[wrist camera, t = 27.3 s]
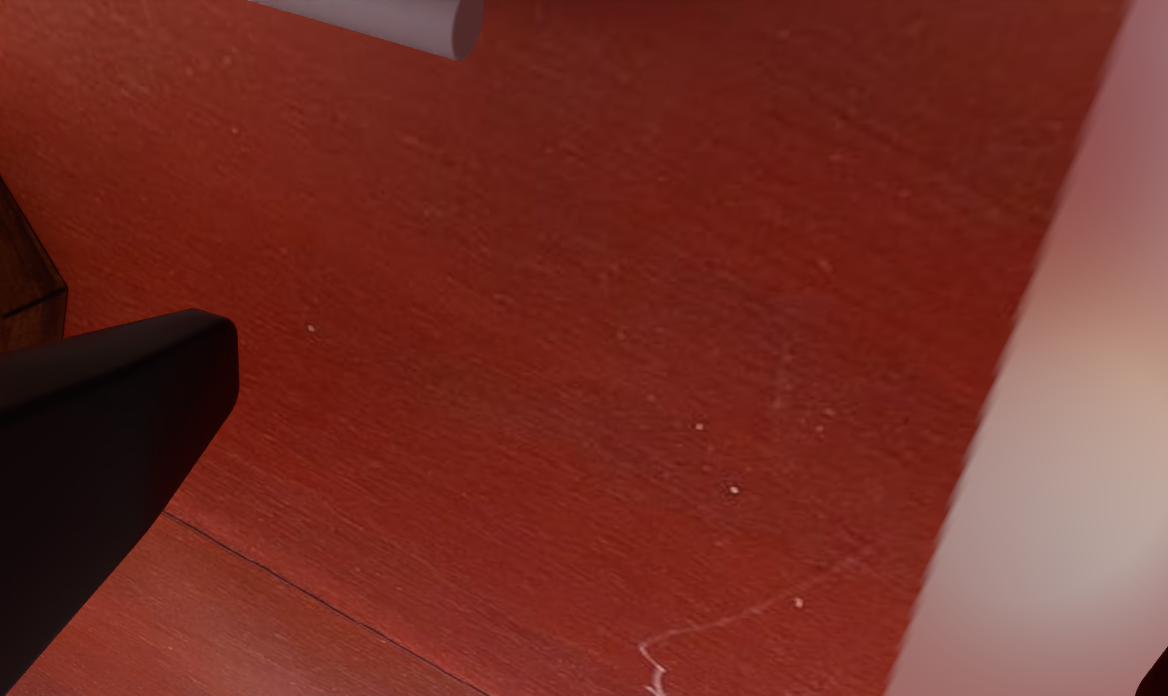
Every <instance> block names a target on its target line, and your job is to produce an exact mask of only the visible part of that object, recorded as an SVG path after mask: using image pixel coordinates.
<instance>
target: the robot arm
mask: <svg viewBox="0 0 1168 696" xmlns="http://www.w3.org/2000/svg"><path fill="white" fill-rule="evenodd" d="M238 394H239V357H238V335H237V329H236V327H235V324H234V323H233V322H232V321H231V320H230V319H228V318H226V317H223V316H220V315H217V314H213V313H210V312H207V311H204V310H200V309H187V310H182V311H178V312H174V313H169V314H165V315H161V316H156V317H152V318H148V319H144V320H139V321H135V322H131V323H126V324H122V325H118V326H113V327H109V328H105V329H101V330H96V331H92V332H88V333H83V334H79V335H75V336H71V337H66V338H62V339H58V340H53V341H49V342H45V343H40V344H36V345H32V346H28V347H23V348H19V349H15V350H10V351H6V352H2V353H0V696H5V695H6V694H7V693H8V692H9V690H10V689H11V688H12V687H13V686H14V685H15V684H16V682H17V681H18V680H19V679H20V678H21V677H22V675H23V674H24V673H25V672H26V671H27V670H28V669H29V667H30V666H31V665H32V664H33V663H34V662H35V660H36V659H37V658H38V657H39V656H40V655H41V654H42V652H43V651H44V650H45V649H46V648H47V647H48V646H49V644H50V643H51V642H52V641H53V640H54V639H55V637H56V636H57V635H58V634H59V633H60V632H61V631H62V629H63V628H64V627H65V626H66V625H67V624H68V622H69V621H70V620H71V619H72V618H73V617H74V616H75V614H76V613H77V612H78V611H79V610H80V609H81V607H82V606H83V605H84V604H85V603H86V602H87V601H88V599H89V598H90V597H91V596H92V595H93V594H94V592H95V591H96V590H97V589H98V588H99V587H100V586H101V584H102V583H103V582H104V581H105V580H106V579H107V578H108V576H109V575H110V574H111V573H112V572H113V571H114V569H115V568H116V567H117V566H118V565H119V564H120V563H121V561H122V560H123V559H124V558H125V557H126V556H127V554H128V553H129V552H130V551H131V550H132V549H133V548H134V546H135V545H136V544H137V543H138V542H139V540H140V539H141V538H142V537H143V536H144V534H145V533H146V532H147V531H148V529H149V528H150V527H151V526H152V524H153V523H154V522H155V520H156V519H157V518H158V516H159V515H160V514H161V512H162V511H163V510H164V508H165V507H166V505H167V504H168V502H169V501H170V500H171V498H172V497H173V495H174V494H175V492H176V491H177V489H178V488H179V487H180V485H181V484H182V482H183V481H184V479H185V478H186V477H187V475H188V474H189V472H190V471H191V469H192V468H193V466H194V465H195V464H196V462H197V461H198V459H199V458H200V456H201V455H202V453H203V452H204V451H205V449H206V448H207V446H208V445H209V443H210V442H211V441H212V439H213V438H214V436H215V435H216V433H217V432H218V430H219V429H220V428H221V426H222V425H223V423H224V422H225V420H226V419H227V417H228V416H229V415H230V413H231V411H232V410H233V408H234V406H235V404H236V401H237V398H238ZM1135 696H1168V647H1167V648H1166V650H1165V651H1164V652H1163V653H1162V655H1161V656H1160V657H1159V659H1158V660H1157V661H1156V663H1155V664H1154V665H1153V667H1152V668H1151V669H1150V670H1149V672H1148V673H1147V674H1146V676H1145V677H1144V678H1143V680H1142V681H1141V683H1140V684H1139V687H1138V689H1137V691H1136V694H1135Z"/></svg>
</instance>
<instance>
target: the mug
mask: <svg viewBox="0 0 1168 696" xmlns="http://www.w3.org/2000/svg"><path fill="white" fill-rule="evenodd" d="M66 296H67V287H66V286H65V284H64V282H63V281H62V279H61V277H60V276H59V274H58V272H57V271H56V269H55V267H54V266H53V264H52V263H51V261H50V259H49V258H48V256H47V254H46V253H45V251H44V249H43V248H42V246H41V244H40V243H39V241H38V239H37V238H36V236H35V235H34V233H33V231H32V230H31V228H30V226H29V225H28V223H27V221H26V220H25V218H24V216H23V215H22V213H21V211H20V210H19V208H18V206H17V205H16V203H15V202H14V200H13V198H12V197H11V195H10V193H9V192H8V190H7V188H6V187H5V185H4V183H3V182H2V180H1V178H0V353H2V352H6V351H10V350H15V349H19V348H23V347H28V346H32V345H36V344H40V343H45V342H49V341H53V340H58V339H62V332H63V323H64V314H65V305H66Z"/></svg>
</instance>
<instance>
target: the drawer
mask: <svg viewBox="0 0 1168 696" xmlns="http://www.w3.org/2000/svg"><path fill="white" fill-rule="evenodd" d="M248 1H252V2H255V3H259V4H262V5H265V6H269V7H272V8H276V9H279V10H283V11H286V12H290V13H293V14H297V15H300V16H304V17H307V18H311V19H314V20H317V21H321V22H324V23H328V24H331V25H335V26H338V27H342V28H345V29H349V30H352V31H356V32H359V33H362V34H366V35H369V36H373V37H376V38H380V39H383V40H387V41H390V42H394V43H397V44H401V45H404V46H408V47H411V48H414V49H418V50H421V51H425V52H428V53H432V54H435V55H439V56H442V57H446V58H449V59H453V60H456V61H463V60H465V59H466V58H467V57H468V56H469V55H470V54H471V52H472V51H473V49H474V47H475V45H476V42H477V40H478V37H479V34H480V30H481V26H482V21H483V12H484V0H248Z"/></svg>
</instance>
